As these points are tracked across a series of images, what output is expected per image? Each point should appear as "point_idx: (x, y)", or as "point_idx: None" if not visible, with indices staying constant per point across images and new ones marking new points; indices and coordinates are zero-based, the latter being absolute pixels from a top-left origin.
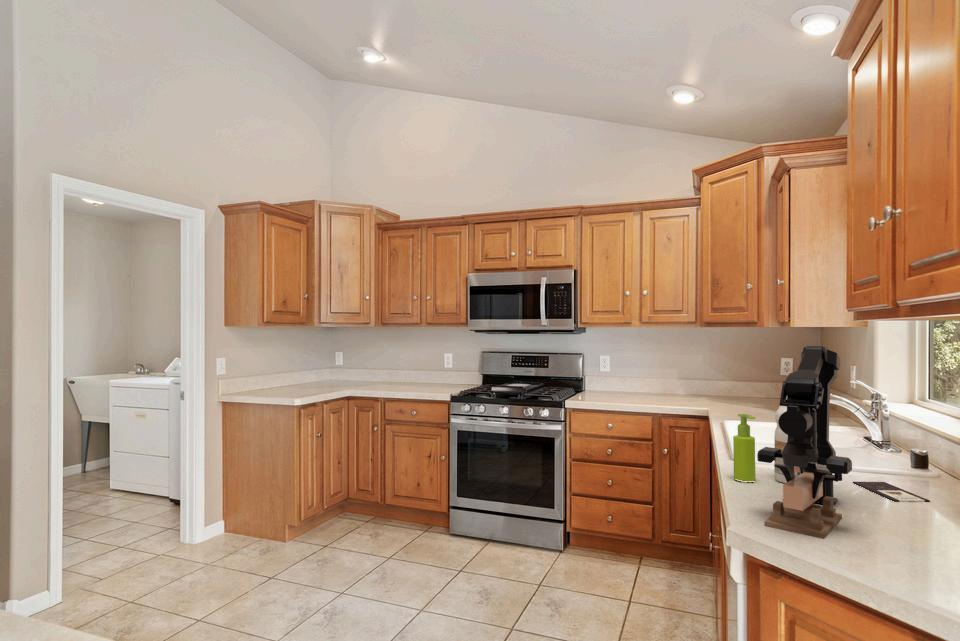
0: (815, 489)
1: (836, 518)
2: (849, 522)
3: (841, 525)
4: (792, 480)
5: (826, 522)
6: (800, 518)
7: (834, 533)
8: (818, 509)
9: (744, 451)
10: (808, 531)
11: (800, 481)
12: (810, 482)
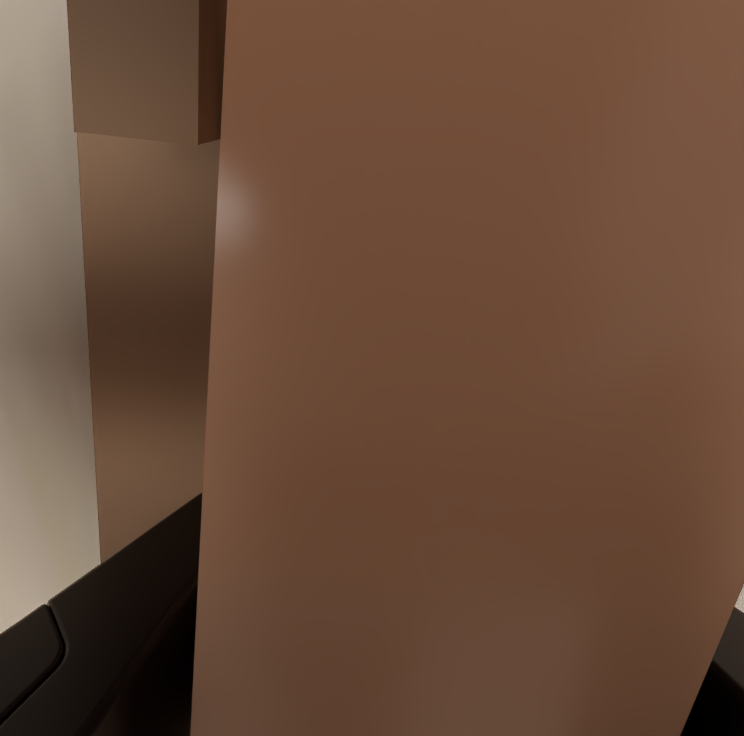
0: (154, 556)
1: (111, 536)
2: (43, 585)
3: (72, 462)
4: (700, 578)
5: (155, 345)
6: None
7: (51, 151)
8: (98, 79)
9: None
10: None
11: (479, 596)
12: (215, 642)
